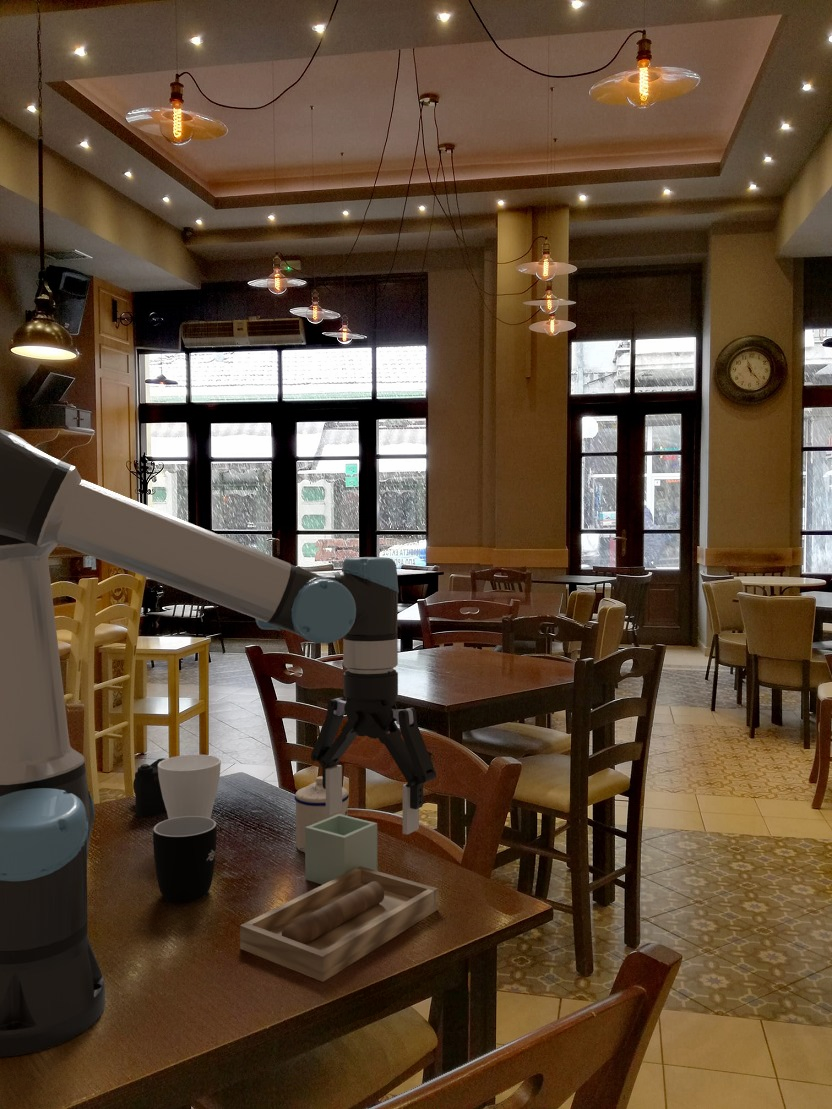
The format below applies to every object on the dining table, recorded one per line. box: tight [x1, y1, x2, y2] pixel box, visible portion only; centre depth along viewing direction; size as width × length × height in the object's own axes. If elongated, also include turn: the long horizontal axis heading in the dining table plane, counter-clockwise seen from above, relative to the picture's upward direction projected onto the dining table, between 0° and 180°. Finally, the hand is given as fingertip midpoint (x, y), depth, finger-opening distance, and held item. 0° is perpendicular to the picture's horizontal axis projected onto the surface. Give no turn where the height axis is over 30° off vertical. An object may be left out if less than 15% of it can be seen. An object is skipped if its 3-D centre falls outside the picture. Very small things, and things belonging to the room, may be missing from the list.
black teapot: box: [132, 756, 172, 819], centre depth 169 cm, size 14×11×10 cm
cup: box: [158, 754, 222, 820], centre depth 149 cm, size 10×10×14 cm
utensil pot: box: [304, 814, 378, 885], centre depth 134 cm, size 8×8×8 cm
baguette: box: [282, 881, 384, 944], centre depth 115 cm, size 6×3×17 cm
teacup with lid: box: [294, 775, 350, 854], centre depth 148 cm, size 12×9×12 cm
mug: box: [152, 816, 218, 904], centre depth 129 cm, size 12×9×10 cm
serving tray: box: [239, 866, 439, 983], centre depth 116 cm, size 24×14×3 cm, turn 144°
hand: (371, 821), depth 121 cm, fingers open, 13 cm apart
